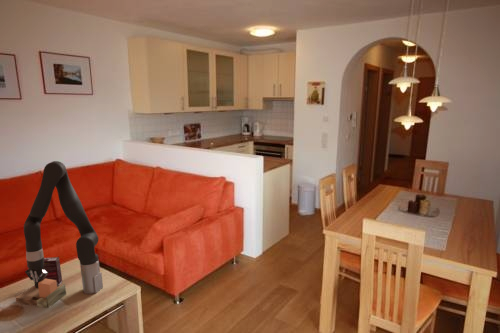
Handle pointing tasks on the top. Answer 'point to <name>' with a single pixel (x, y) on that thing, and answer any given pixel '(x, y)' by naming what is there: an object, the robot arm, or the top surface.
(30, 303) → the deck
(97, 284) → the robot arm
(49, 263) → the supplement box
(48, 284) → the block
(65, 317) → the top surface
